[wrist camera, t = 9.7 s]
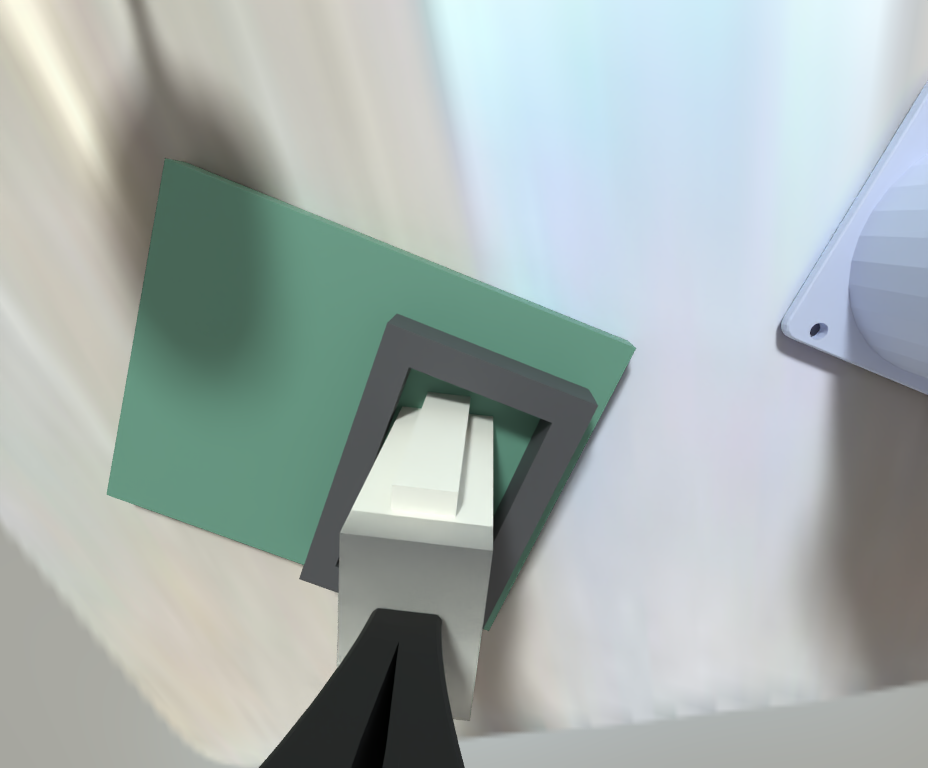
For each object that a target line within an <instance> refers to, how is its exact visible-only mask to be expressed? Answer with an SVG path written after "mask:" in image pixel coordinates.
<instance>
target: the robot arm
mask: <svg viewBox="0 0 928 768" xmlns="http://www.w3.org/2000/svg"><path fill="white" fill-rule="evenodd" d="M817 323H819V325H820V329H819V332H818V333H817V334H816V335H815V336H812V337H811V336H810V330H811V328H812V327H813V326H814V325H815V324H817ZM781 329H782V331H783V333H784V335H786V336H787V337H789V338H791V339H793V340H796V341H798V342H801V343H803V344H805V345H808V346H810V347H813V348H815V349H818V350H820V351H822V352H825V353H827V354H830V355H832V356H835V357H837V358H839V359H842V360H844V361H847V362H849V363H851V364H854V365H856V366H859V367H861V368H864V369H866V370H868V371H871V372H873V373H876V374H878V375H880V376H883V377H885V378H888V379H890V380H893V381H895V382H897V383H900V384H902V385H905V386H907V387H909V388H912V389H914V390H917V391H919V392H922V393H924V394H926V395H928V81H927V83H926V84H925V86H924V88H923V89H922V91H921V93H920V94H919V96H918V97H917V99H916V101H915V102H914V104H913V106H912V107H911V109H910V111H909V112H908V114H907V115H906V117H905V119H904V120H903V122H902V124H901V125H900V127H899V129H898V130H897V132H896V134H895V135H894V137H893V138H892V140H891V142H890V143H889V145H888V147H887V148H886V150H885V152H884V153H883V155H882V157H881V158H880V160H879V161H878V163H877V165H876V166H875V168H874V170H873V171H872V173H871V175H870V176H869V178H868V179H867V181H866V183H865V184H864V186H863V188H862V189H861V191H860V193H859V194H858V196H857V198H856V199H855V201H854V202H853V204H852V206H851V207H850V209H849V211H848V212H847V214H846V216H845V217H844V219H843V221H842V222H841V224H840V225H839V227H838V229H837V230H836V232H835V234H834V235H833V237H832V239H831V240H830V242H829V243H828V245H827V247H826V248H825V250H824V252H823V253H822V255H821V257H820V258H819V260H818V262H817V263H816V265H815V266H814V268H813V270H812V271H811V273H810V275H809V276H808V278H807V280H806V281H805V283H804V285H803V286H802V288H801V289H800V291H799V293H798V294H797V296H796V298H795V299H794V301H793V303H792V304H791V306H790V307H789V309H788V311H787V312H786V314H785V316H784V317H783V320H782V323H781ZM441 629H442V619H441V618H440V617H439V616H438V615H437V614H428V613H419V612H411V611H402V610H393V609H384V608H377V609H375V610H374V611H373V612H372V613H371V615H370V617H369V619H368V621H367V622H366V624H365V626H364V628H363V629H362V631H361V633H360V634H359V636H358V638H357V639H356V641H355V642H354V644H353V645H352V647H351V649H350V650H349V652H348V653H347V655H346V656H345V658H344V659H343V661H342V662H341V664H340V665H339V666H338V668H337V669H336V671H335V672H334V673H333V675H332V676H331V677H330V679H329V680H328V682H327V683H326V684H325V686H324V687H323V689H322V690H321V691H320V693H319V694H318V696H317V697H316V698H315V700H314V701H313V702H312V703H311V705H310V706H309V707H308V709H307V710H306V711H305V712H304V714H303V715H302V716H301V717H300V719H299V720H298V721H297V722H296V724H295V725H294V726H293V727H292V729H291V730H290V731H289V732H288V734H287V735H286V736H285V737H284V739H283V740H282V741H281V742H280V744H279V745H278V746H277V747H276V748H275V749H274V751H273V752H272V753H271V754H270V755H269V756H268V758H267V759H266V760H265V761H264V762H263V763H262V765H261V766H260V767H259V768H465V767H464V763H463V759H462V756H461V752H460V748H459V744H458V740H457V735H456V731H455V727H454V722H453V717H452V712H451V707H450V702H449V697H448V692H447V685H446V679H445V672H444V664H443V655H442V639H441Z"/></svg>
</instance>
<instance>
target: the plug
mask: <svg viewBox="0 0 928 768" xmlns="http://www.w3.org/2000/svg"><path fill="white" fill-rule="evenodd" d="M470 399H471V397H469V396H460V395H451V394H442V393H433V392H428V393H427V396H426V398H425V401H424V403H423V406H422V409H421V408H412V407H403V406H402V408H401V410H400V412H399V414H398V416H397V418H396V420H395V422H394V424H393V427H392V429H391V431H390V433H389V435H388V437H387V439H386V441H385V443H384V445H383V447H382V449H381V451H380V453H379V455H378V457H377V459H376V461H375V463H374V465H373V467H372V469H371V471H370V473H369V475H368V477H367V479H366V481H365V483H364V485H363V487H362V489H361V491H360V493H359V495H358V497H357V499H356V501H355V503H354V505H353V507H352V509H351V511H350V513H349V515H348V517H347V519H346V521H345V523H344V525H343V527H342V529H341V531H340V547H339V594H338V641H337V668H338V666H339V665H340V664H341V662H342V661H343V659H344V658H345V656H346V655H347V653H348V652H349V650H350V649H351V647H352V645H353V644H354V642H355V641H356V639H357V638H358V636H359V634H360V633H361V631H362V629H363V628H364V626H365V624H366V622H367V621H368V619H369V617H370V615H371V613H372V612H373V611H374V610H375V609H377V608H384V609H393V610H402V611H411V612H419V613H428V614H437V615H438V616H439V617H440V618H441V619H442V629H441V639H442V655H443V664H444V672H445V679H446V685H447V692H448V697H449V702H450V707H451V712H452V717H453V719H457V720H465V721H470V715H471V708H472V701H473V693H474V686H475V679H476V671H477V664H478V657H479V649H480V642H481V635H482V628H483V620H484V613H485V606H486V598H487V591H488V584H489V576H490V569H491V562H492V554H493V416H484V415H475V414H469V408H470Z"/></svg>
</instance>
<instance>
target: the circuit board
mask: <svg viewBox="0 0 928 768" xmlns="http://www.w3.org/2000/svg"><path fill="white" fill-rule="evenodd" d="M635 349H636V348H635V347H634V346H633V345H632V344H631V343H630V342H628V341H627V340H624V339H622V338H619V337H617V336H614V335H612V334H609V333H607V332H605V331H602V330H600V329H597V328H595V327H592V326H590V325H587V324H585V323H582V322H580V321H577V320H575V319H572V318H570V317H567V316H565V315H562V314H560V313H557V312H555V311H553V310H550V309H548V308H545V307H543V306H540V305H538V304H535V303H533V302H530V301H528V300H525V299H523V298H520V297H518V296H515V295H513V294H510V293H508V292H505V291H503V290H501V289H498V288H496V287H493V286H491V285H488V284H486V283H483V282H481V281H478V280H476V279H473V278H471V277H468V276H466V275H463V274H461V273H458V272H456V271H454V270H451V269H449V268H446V267H444V266H441V265H439V264H436V263H434V262H431V261H429V260H426V259H424V258H421V257H419V256H416V255H414V254H411V253H409V252H406V251H404V250H402V249H399V248H397V247H394V246H392V245H389V244H387V243H384V242H382V241H379V240H377V239H374V238H372V237H369V236H367V235H364V234H362V233H359V232H357V231H354V230H352V229H350V228H347V227H345V226H342V225H340V224H337V223H335V222H332V221H330V220H327V219H325V218H322V217H320V216H317V215H315V214H312V213H310V212H307V211H305V210H302V209H300V208H298V207H295V206H293V205H290V204H288V203H285V202H283V201H280V200H278V199H275V198H273V197H270V196H268V195H265V194H263V193H260V192H258V191H255V190H253V189H250V188H248V187H246V186H243V185H241V184H238V183H236V182H233V181H231V180H228V179H226V178H223V177H221V176H218V175H216V174H213V173H211V172H208V171H206V170H203V169H201V168H198V167H196V166H194V165H191V164H189V163H186V162H182V161H177V160H172V159H166V158H165V161H164V167H163V173H162V179H161V184H160V190H159V196H158V202H157V207H156V213H155V219H154V225H153V230H152V236H151V242H150V248H149V253H148V259H147V265H146V271H145V276H144V282H143V288H142V294H141V299H140V305H139V311H138V317H137V322H136V328H135V334H134V340H133V346H132V351H131V357H130V363H129V369H128V374H127V380H126V386H125V392H124V397H123V403H122V409H121V415H120V420H119V426H118V432H117V438H116V443H115V449H114V455H113V461H112V466H111V472H110V478H109V484H108V489H107V495H109V496H112V497H115V498H117V499H120V500H123V501H126V502H129V503H131V504H134V505H137V506H140V507H143V508H145V509H148V510H151V511H154V512H157V513H159V514H162V515H165V516H168V517H171V518H174V519H176V520H179V521H182V522H185V523H188V524H190V525H193V526H196V527H199V528H202V529H204V530H207V531H210V532H213V533H216V534H218V535H221V536H224V537H227V538H230V539H232V540H235V541H238V542H241V543H244V544H246V545H249V546H252V547H255V548H258V549H260V550H263V551H266V552H269V553H272V554H274V555H277V556H280V557H283V558H286V559H288V560H291V561H294V562H297V563H300V564H302V565H304V566H303V569H302V572H301V575H300V578H299V579H301V580H303V581H306V582H309V583H312V584H315V585H318V586H320V587H323V588H326V589H329V590H332V591H334V592H337V593H339V547H340V531H341V529H342V527H343V525H344V523H345V521H346V519H347V517H348V515H349V513H350V511H351V509H352V507H353V505H354V503H355V501H356V499H357V497H358V495H359V493H360V491H361V489H362V487H363V485H364V483H365V481H366V479H367V477H368V475H369V473H370V471H371V469H372V467H373V465H374V463H375V461H376V459H377V457H378V455H379V453H380V451H381V449H382V447H383V445H384V443H385V441H386V439H387V437H388V435H389V433H390V431H391V429H392V427H393V424H394V422H395V420H396V418H397V416H398V414H399V412H400V410H401V408H402V406H403V407H412V408H421V409H422V406H423V403H424V401H425V398H426V396H427V393H428V392H433V393H442V394H451V395H460V396H469V397H471V399H470V408H469V414H475V415H484V416H493V554H492V562H491V569H490V576H489V584H488V591H487V598H486V606H485V613H484V620H483V628H482V631H483V629H485V630H487V631H489V630H490V628H491V626H492V624H493V622H494V620H495V618H496V616H497V614H498V612H499V610H500V609H501V607H502V605H503V603H504V601H505V599H506V597H507V595H508V593H509V591H510V589H511V587H512V586H513V584H514V582H515V580H516V578H517V576H518V574H519V572H520V570H521V568H522V566H523V564H524V562H525V561H526V559H527V557H528V555H529V553H530V551H531V549H532V547H533V545H534V543H535V541H536V539H537V538H538V536H539V534H540V532H541V530H542V528H543V526H544V524H545V522H546V520H547V518H548V516H549V514H550V513H551V511H552V509H553V507H554V505H555V503H556V501H557V499H558V497H559V495H560V493H561V491H562V490H563V488H564V486H565V484H566V482H567V480H568V478H569V476H570V474H571V472H572V470H573V468H574V467H575V465H576V463H577V461H578V459H579V457H580V455H581V453H582V451H583V449H584V447H585V445H586V443H587V442H588V440H589V438H590V436H591V434H592V432H593V430H594V428H595V426H596V424H597V422H598V420H599V419H600V417H601V415H602V413H603V411H604V409H605V407H606V405H607V403H608V401H609V399H610V397H611V395H612V394H613V392H614V390H615V388H616V386H617V384H618V382H619V380H620V378H621V376H622V374H623V372H624V371H625V369H626V367H627V365H628V363H629V361H630V359H631V357H632V355H633V353H634V351H635Z"/></svg>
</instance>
